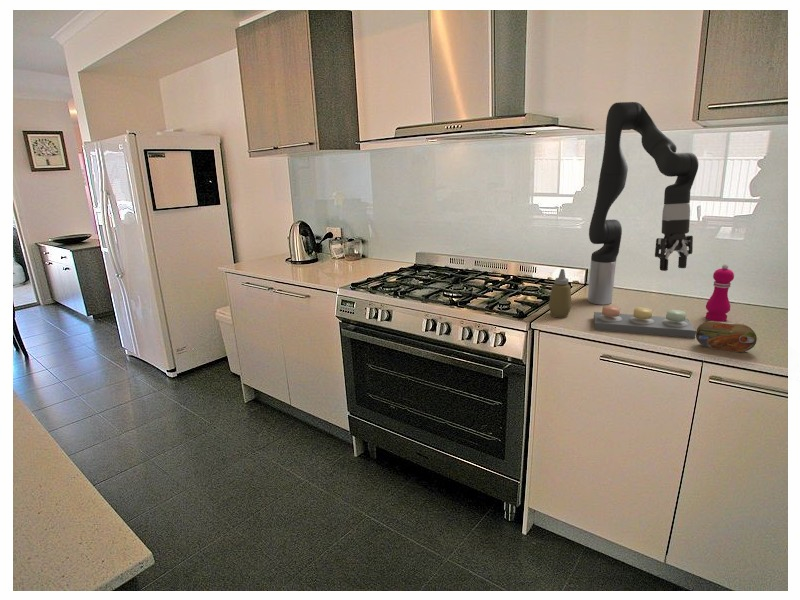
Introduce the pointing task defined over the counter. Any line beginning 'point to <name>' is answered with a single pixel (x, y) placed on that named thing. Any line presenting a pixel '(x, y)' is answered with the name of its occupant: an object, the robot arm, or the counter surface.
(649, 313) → the ochre button
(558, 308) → the squeeze bottle
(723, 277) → the pepper mill
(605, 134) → the robot arm
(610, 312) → the terracotta button
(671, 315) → the sage button
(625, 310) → the counter surface
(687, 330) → the button panel
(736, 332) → the tin
